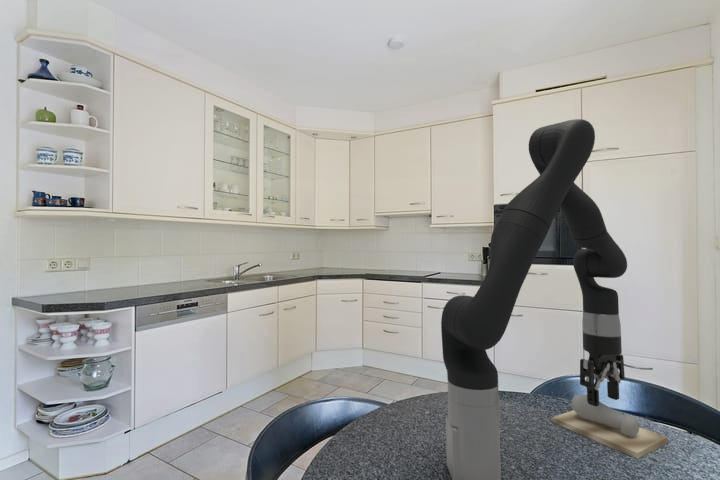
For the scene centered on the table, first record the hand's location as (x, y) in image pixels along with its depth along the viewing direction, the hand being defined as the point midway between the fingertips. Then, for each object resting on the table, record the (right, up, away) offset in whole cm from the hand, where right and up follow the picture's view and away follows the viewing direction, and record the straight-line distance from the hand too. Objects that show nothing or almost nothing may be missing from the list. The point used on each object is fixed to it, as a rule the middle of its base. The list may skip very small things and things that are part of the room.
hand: (603, 401), depth 82 cm
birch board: (0, -7, -1) cm, 7 cm away
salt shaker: (-3, -3, +6) cm, 7 cm away
